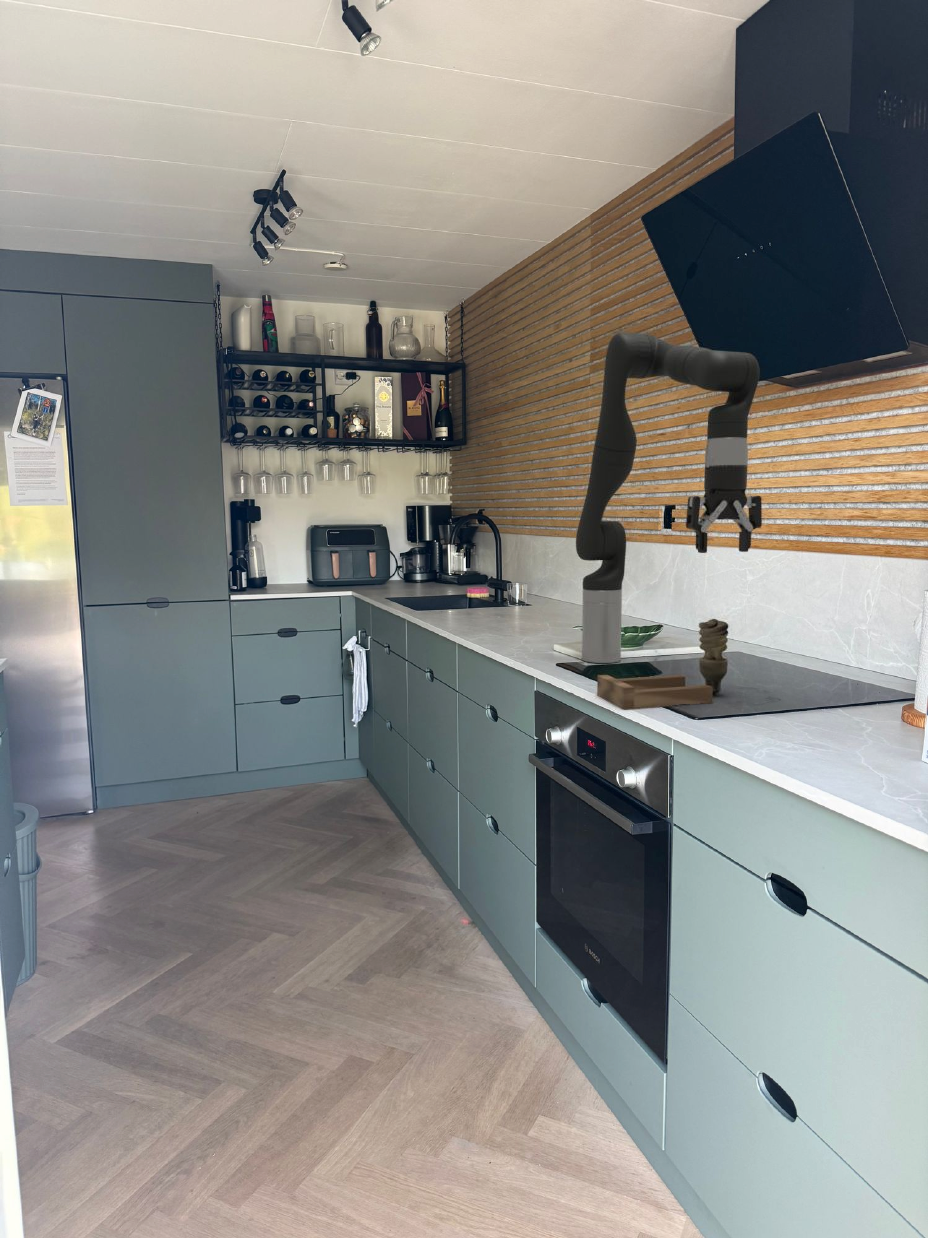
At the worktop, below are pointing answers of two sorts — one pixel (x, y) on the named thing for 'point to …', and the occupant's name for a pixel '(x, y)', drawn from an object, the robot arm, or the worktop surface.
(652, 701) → the tray
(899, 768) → the worktop surface
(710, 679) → the light bulb
